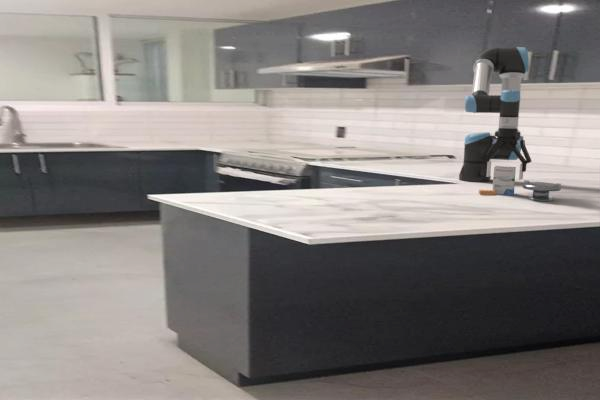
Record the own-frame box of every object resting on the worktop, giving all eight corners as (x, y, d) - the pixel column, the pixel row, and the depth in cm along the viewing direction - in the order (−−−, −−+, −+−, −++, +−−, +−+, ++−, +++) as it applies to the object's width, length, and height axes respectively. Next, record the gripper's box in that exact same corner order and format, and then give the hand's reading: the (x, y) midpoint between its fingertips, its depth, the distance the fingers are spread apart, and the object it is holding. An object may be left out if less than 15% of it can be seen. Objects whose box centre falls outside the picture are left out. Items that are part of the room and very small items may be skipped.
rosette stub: (517, 199, 216) (518, 182, 215) (527, 194, 227) (529, 178, 225) (554, 204, 207) (556, 186, 206) (563, 198, 218) (565, 181, 217)
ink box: (514, 193, 230) (516, 166, 227) (513, 195, 225) (515, 167, 223) (493, 192, 233) (495, 165, 231) (492, 194, 229) (494, 166, 226)
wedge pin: (479, 195, 227) (480, 190, 226) (478, 194, 229) (478, 189, 229) (494, 195, 226) (494, 191, 226) (492, 194, 229) (493, 190, 228)
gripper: (475, 126, 229) (472, 176, 232) (536, 128, 213) (532, 181, 217) (481, 126, 234) (478, 174, 238) (542, 128, 219) (537, 179, 223)
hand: (504, 178), depth 227 cm, fingers open, 13 cm apart
